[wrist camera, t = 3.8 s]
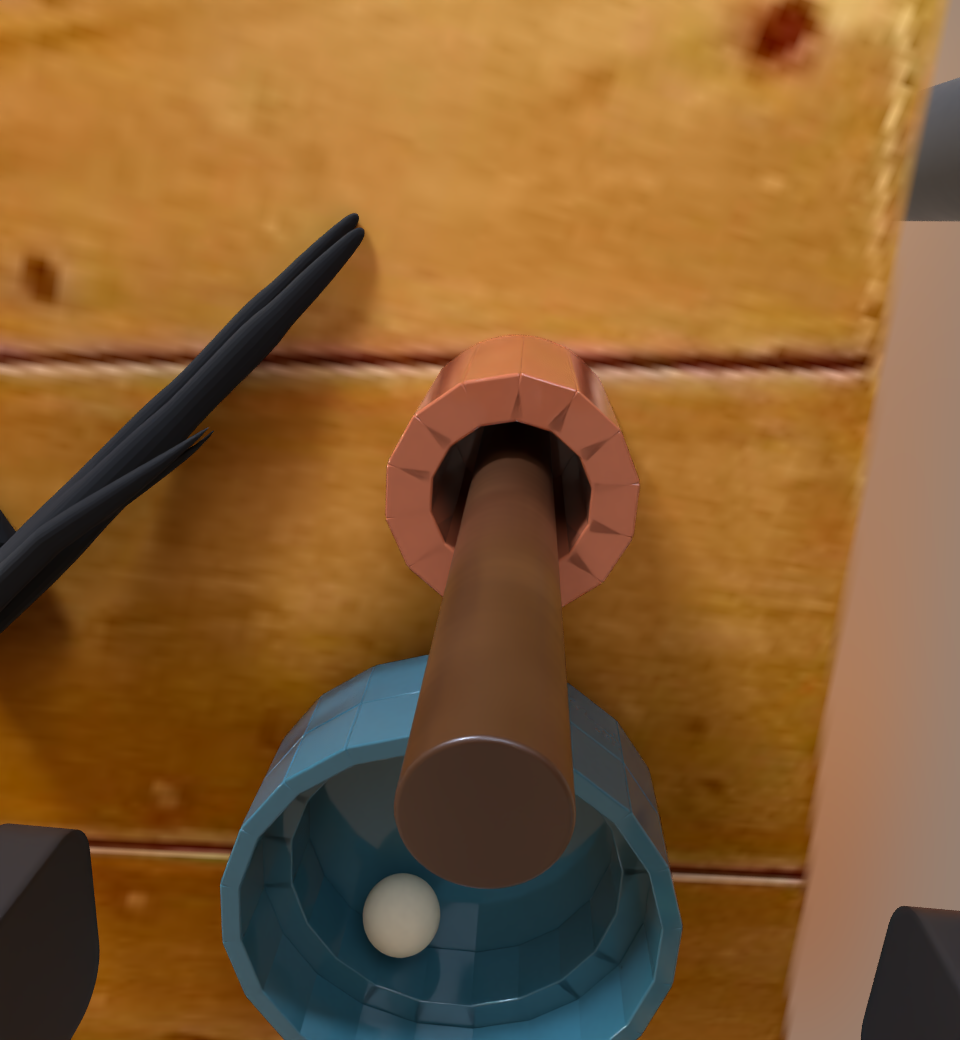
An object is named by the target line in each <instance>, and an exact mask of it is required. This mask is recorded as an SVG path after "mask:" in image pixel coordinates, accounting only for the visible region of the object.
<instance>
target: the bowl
mask: <svg viewBox="0 0 960 1040" xmlns="http://www.w3.org/2000/svg"><path fill="white" fill-rule="evenodd" d="M428 657H429V655H424V656H419V657H414V658H409V659H404V660H399V661H395V662H390V663H385V664H380V665H376V666H373V667H372V668H370V669H368V670H366V671H364V672H363V673H361V674H359V675H357V676H355V677H354V678H352V679H350V680H348V681H346V682H345V683H343V684H341V685H339V686H337V687H336V688H334V689H332V690H330V691H328V692H327V693H325V694H323V695H322V696H321V697H320V698H319V699H318V700H317V701H316V702H315V703H314V704H313V705H312V707H311V708H310V709H309V710H308V711H307V712H306V713H305V714H304V716H303V717H302V718H301V719H300V720H299V721H298V722H297V724H296V725H295V726H294V727H293V728H292V729H291V730H290V731H289V733H288V734H287V735H286V736H285V737H284V739H283V741H282V743H281V745H280V747H279V749H278V751H277V753H276V755H275V758H274V760H273V762H272V764H271V766H270V768H269V770H268V772H267V774H266V776H265V778H264V780H263V783H262V784H261V787H260V789H259V791H258V793H257V795H256V797H255V799H254V801H253V803H252V805H251V807H250V809H249V811H248V813H247V816H246V818H245V820H244V822H243V824H242V826H241V828H240V830H239V833H238V836H237V838H236V841H235V844H234V846H233V849H232V852H231V855H230V857H229V860H228V863H227V866H226V868H225V871H224V874H223V876H222V879H221V884H220V896H221V920H222V940H223V945H224V947H225V949H226V952H227V954H228V956H229V959H230V961H231V963H232V966H233V968H234V970H235V973H236V975H237V977H238V980H239V982H240V984H241V987H242V989H243V991H244V993H245V995H246V997H247V998H248V999H249V1000H250V1002H251V1003H252V1004H253V1005H254V1006H255V1007H256V1008H257V1010H258V1011H259V1012H260V1013H261V1014H262V1015H263V1016H264V1017H265V1019H266V1020H267V1021H268V1022H269V1023H270V1024H271V1025H272V1026H273V1028H274V1029H275V1030H276V1031H277V1032H278V1033H279V1034H280V1036H281V1037H282V1038H283V1039H284V1040H637V1039H638V1038H639V1037H640V1036H641V1035H642V1033H643V1032H644V1031H645V1029H646V1027H647V1026H648V1024H649V1022H650V1021H651V1019H652V1018H653V1016H654V1014H655V1013H656V1011H657V1010H658V1008H659V1006H660V1005H661V1003H662V1002H663V1000H664V998H665V997H666V995H667V993H668V992H669V990H670V989H671V987H672V984H673V982H674V976H675V970H676V964H677V959H678V953H679V947H680V941H681V935H682V930H683V928H682V926H683V924H682V919H681V914H680V910H679V905H678V900H677V895H676V891H675V886H674V881H673V876H672V871H671V867H670V862H669V857H668V852H667V848H666V843H665V838H664V833H663V829H662V824H661V819H660V815H659V810H658V806H657V802H656V797H655V793H654V789H653V784H652V780H651V776H650V772H649V769H648V767H647V766H646V764H645V763H644V761H643V760H642V758H641V756H640V755H639V753H638V752H637V750H636V749H635V747H634V746H633V744H632V743H631V741H630V740H629V738H628V737H627V735H626V734H625V732H624V731H623V729H622V728H621V726H620V725H619V723H618V722H617V721H616V720H615V719H614V718H612V717H611V716H610V715H609V714H607V713H606V712H605V711H603V710H602V709H601V708H600V707H598V706H597V705H596V704H594V703H593V702H592V701H591V700H589V699H588V698H587V697H585V696H584V695H583V694H582V693H580V692H579V691H578V690H576V689H575V688H574V687H573V686H571V685H570V684H569V683H567V690H568V705H569V719H570V733H571V748H572V762H573V776H574V791H575V805H576V822H575V827H574V832H573V834H572V837H571V840H570V842H569V844H568V846H567V847H566V849H565V851H564V852H563V854H562V855H561V856H560V858H559V859H558V860H557V861H556V862H555V863H554V864H553V865H552V866H551V867H550V868H549V869H547V870H546V871H545V872H543V873H542V874H541V875H539V876H537V877H535V878H534V879H532V880H529V881H527V882H525V883H522V884H519V885H515V886H511V887H506V888H499V889H478V888H471V887H465V886H461V885H458V884H455V883H452V882H449V881H447V880H444V879H442V878H440V877H438V876H436V875H435V874H433V873H432V872H430V871H429V870H427V869H426V868H425V867H424V866H422V865H421V864H420V863H419V862H418V861H417V860H416V859H415V858H414V857H413V856H412V855H411V853H410V852H409V850H408V849H407V848H406V846H405V844H404V843H403V841H402V839H401V837H400V834H399V832H398V829H397V826H396V822H395V817H394V799H395V793H396V789H397V784H398V780H399V776H400V772H401V768H402V764H403V760H404V756H405V752H406V747H407V743H408V739H409V735H410V731H411V727H412V723H413V719H414V714H415V710H416V706H417V702H418V698H419V694H420V690H421V686H422V681H423V677H424V673H425V669H426V665H427V661H428ZM398 873H407V874H412V875H415V876H418V877H420V878H422V879H423V880H424V881H426V882H427V883H428V884H429V885H430V886H431V888H432V889H433V890H434V892H435V894H436V896H437V899H438V902H439V906H440V922H439V926H438V930H437V932H436V934H435V936H434V938H433V939H432V941H431V942H430V944H429V945H428V946H427V947H426V948H425V949H423V950H422V951H420V952H419V953H417V954H415V955H413V956H409V957H405V958H396V957H391V956H388V955H385V954H383V953H382V952H380V951H379V950H377V949H376V948H375V947H374V946H373V945H372V943H371V942H370V941H369V939H368V937H367V935H366V933H365V930H364V925H363V908H364V904H365V901H366V899H367V896H368V895H369V893H370V891H371V890H372V888H373V887H374V886H375V885H376V884H377V883H378V882H380V881H381V880H382V879H384V878H386V877H388V876H390V875H393V874H398Z"/></svg>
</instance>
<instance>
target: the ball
mask: <svg viewBox="0 0 960 1040" xmlns="http://www.w3.org/2000/svg"><path fill="white" fill-rule="evenodd" d="M439 922H440V906H439V902H438V899H437V896H436V894H435V892H434V890H433V889H432V888H431V886H430V885H429V884H428V883H427V882H426V881H424V880H423V879H422V878H420V877H418V876H415V875H412V874H407V873H398V874H393V875H390V876H388V877H386V878H384V879H382V880H381V881H380V882H378V883H377V884H376V885H375V886H374V887H373V888H372V890H371V891H370V893H369V895H368V896H367V899H366V901H365V904H364V908H363V925H364V930H365V933H366V935H367V937H368V939H369V941H370V942H371V943H372V945H373V946H374V947H375V948H376V949H377V950H379V951H380V952H382V953H383V954H385V955H388V956H391V957H396V958H405V957H409V956H413V955H415V954H417V953H419V952H420V951H422V950H423V949H425V948H426V947H427V946H428V945H429V944H430V942H431V941H432V939H433V938H434V936H435V934H436V932H437V930H438V926H439Z"/></svg>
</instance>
